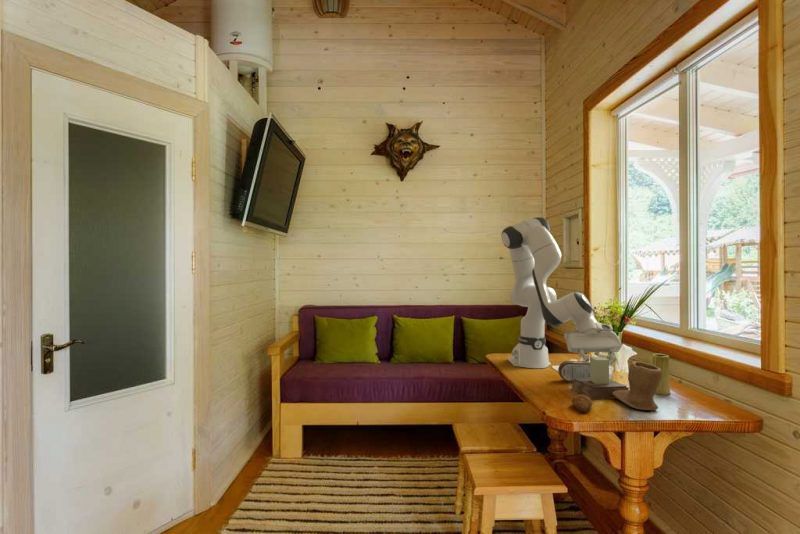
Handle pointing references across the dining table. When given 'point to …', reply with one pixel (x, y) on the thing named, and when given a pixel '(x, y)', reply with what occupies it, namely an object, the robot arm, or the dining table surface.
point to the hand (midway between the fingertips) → (599, 360)
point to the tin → (574, 370)
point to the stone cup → (641, 386)
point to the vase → (663, 364)
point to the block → (599, 370)
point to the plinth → (597, 388)
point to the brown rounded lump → (582, 403)
